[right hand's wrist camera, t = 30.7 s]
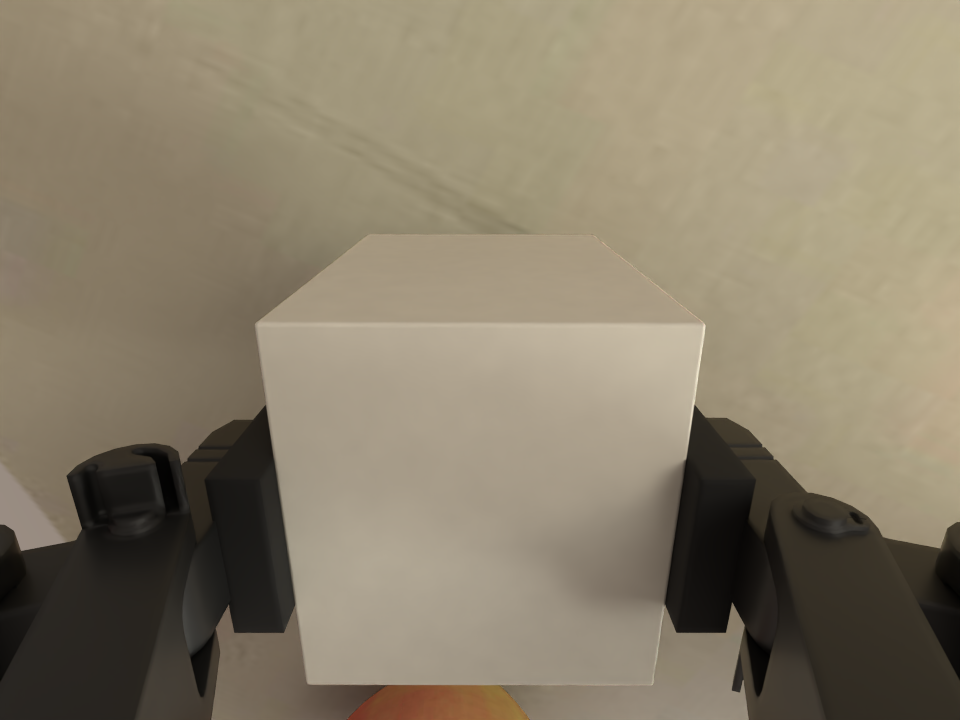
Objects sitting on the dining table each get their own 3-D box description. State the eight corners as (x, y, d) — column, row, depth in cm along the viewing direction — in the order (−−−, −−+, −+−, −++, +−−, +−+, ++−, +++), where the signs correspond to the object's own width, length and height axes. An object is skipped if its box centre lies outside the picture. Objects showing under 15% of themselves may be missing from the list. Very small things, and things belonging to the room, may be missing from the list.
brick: (381, 450, 17) (304, 686, 10) (367, 233, 15) (252, 322, 8) (578, 451, 17) (654, 687, 10) (593, 233, 15) (708, 323, 7)
